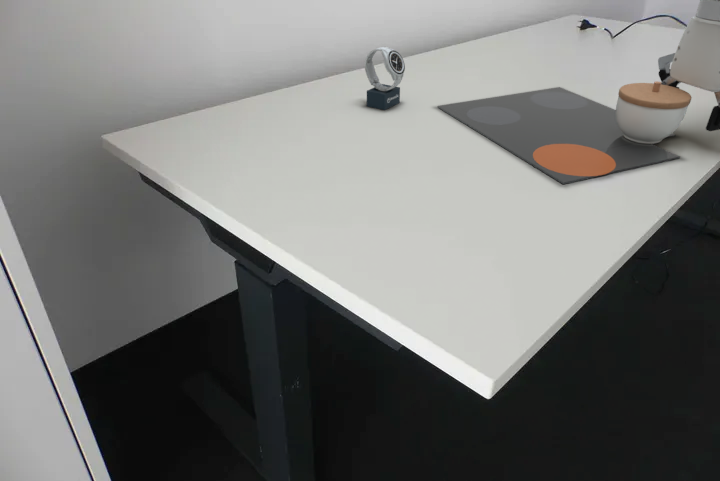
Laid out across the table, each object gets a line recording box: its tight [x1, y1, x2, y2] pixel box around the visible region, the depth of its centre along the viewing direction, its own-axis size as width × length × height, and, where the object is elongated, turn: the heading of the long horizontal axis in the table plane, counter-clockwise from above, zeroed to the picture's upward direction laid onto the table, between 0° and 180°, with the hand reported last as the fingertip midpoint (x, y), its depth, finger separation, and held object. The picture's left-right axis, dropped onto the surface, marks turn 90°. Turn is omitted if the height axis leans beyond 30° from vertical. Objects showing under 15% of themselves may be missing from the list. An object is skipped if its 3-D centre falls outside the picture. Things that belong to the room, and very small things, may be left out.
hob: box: [437, 86, 681, 185], centre depth 97 cm, size 30×37×1 cm
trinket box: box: [615, 80, 693, 145], centre depth 90 cm, size 11×11×9 cm
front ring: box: [533, 144, 616, 177], centre depth 85 cm, size 12×12×1 cm
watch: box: [364, 46, 406, 111], centre depth 106 cm, size 6×8×11 cm
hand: (688, 119), depth 91 cm, fingers open, 9 cm apart
